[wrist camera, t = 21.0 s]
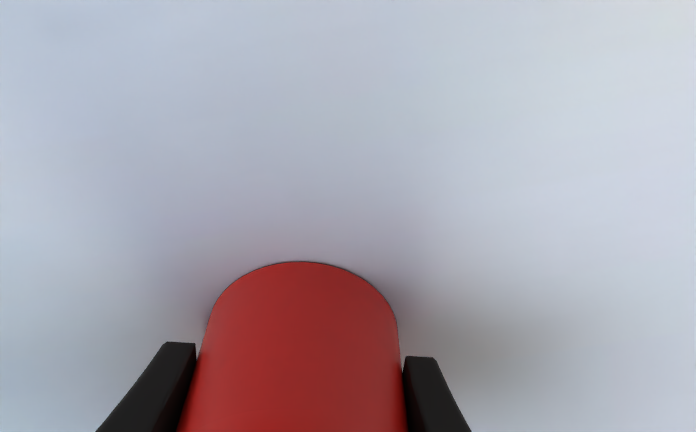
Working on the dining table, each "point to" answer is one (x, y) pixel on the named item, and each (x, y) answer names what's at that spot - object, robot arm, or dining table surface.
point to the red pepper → (298, 356)
